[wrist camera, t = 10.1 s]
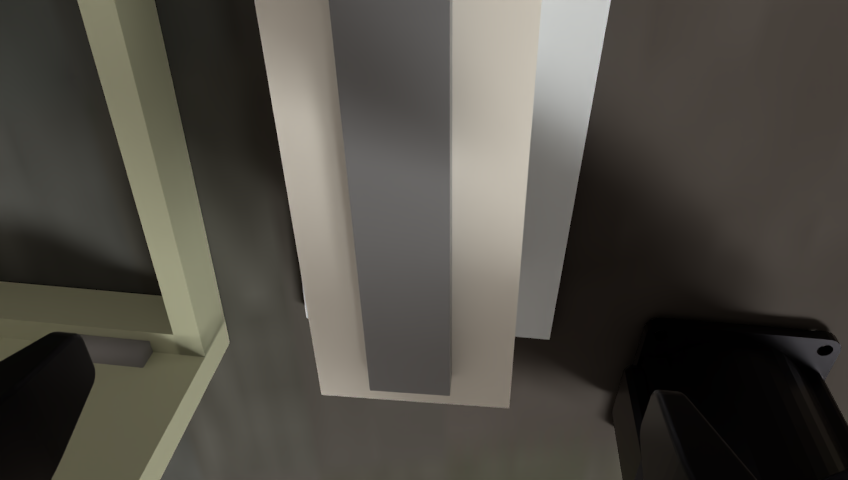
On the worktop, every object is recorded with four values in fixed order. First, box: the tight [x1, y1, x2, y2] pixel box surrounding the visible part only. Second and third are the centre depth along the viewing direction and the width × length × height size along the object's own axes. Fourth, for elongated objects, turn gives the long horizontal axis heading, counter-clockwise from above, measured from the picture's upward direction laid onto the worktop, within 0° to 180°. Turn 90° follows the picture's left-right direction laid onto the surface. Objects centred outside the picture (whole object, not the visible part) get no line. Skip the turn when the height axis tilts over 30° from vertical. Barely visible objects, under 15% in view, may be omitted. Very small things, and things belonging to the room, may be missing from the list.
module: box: [254, 0, 542, 408], centre depth 16 cm, size 5×12×7 cm, turn 1°
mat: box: [302, 0, 611, 340], centre depth 19 cm, size 9×18×1 cm, turn 179°
